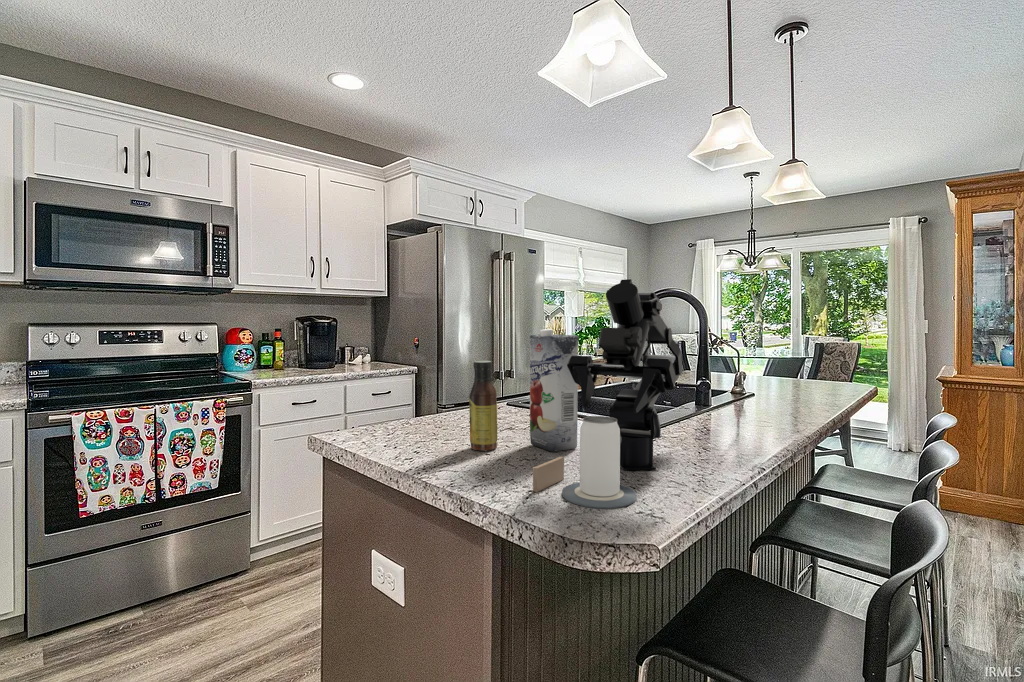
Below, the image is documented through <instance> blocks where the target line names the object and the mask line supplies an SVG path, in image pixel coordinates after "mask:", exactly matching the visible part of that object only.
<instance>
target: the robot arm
mask: <svg viewBox="0 0 1024 682" xmlns="http://www.w3.org/2000/svg"><path fill="white" fill-rule="evenodd" d="M632 280H633V279H632V278H631V279H629V278H628V279H626V278H625V279H620V282H619V283H616V284H614V285H613V286H611V287H610V288H609V289H607V290H606V292H605V298H606V302H607V305H608V308H609V310H610V315H611V317H612V320H613V323H614V324H617V327H601V329H600V332H599V337H598V339H599V340H598V347H599V348H601V349H602V350H603V351H602V355H601V356H602V358H603V360H606V362H603V363H602V362H594V361H593V357H592V356H591V355H578V356H571V357H570V359H569V361H568V364H567V366H568V369H569V371H570V373H571V375H572V378H573V380H574V382H575V383H577V384H578V386H579V387H580V393H581V394H580V395H581V406H582V409H584V410H586V409H587V408H588V406H589V404H590V401H591V399H592V396H593V393H594V391H595V389H596V386H595V383H596V382H597V379H598V376H611V377H614V378H615V377H617V378H625V379H640V380H639V381H638V383H637V384H636V387H635V388H633V389H632V388H631V389H629V388H622V389H621V390H620V391H619V392H618V394H617V395H615V400H614V401H613V402H612V404H611V405H610V407H609V412H608V414H609V416H608V417H612V418H616V419H617V424H618V426H619V428H620V469H621V470H623V471H640V470H641V471H643V470H644V471H646V470H647V471H648V470H651V471H653V470H655V471H656V469H657V466H656V465H655V464H654V439H660V438H661V435H662V434H661V423H660V418H659V415H658V413H657V412H658V411H657V409H656V407H655V403H656V402H657V399H658V398H659V396H660V394H661V393H662V394H663V393H664V394H665V393H666V391H672V390H673V389H675V386H676V381H678V379H679V377H680V376H682V374H683V373H682V372H683V359H682V350H681V347H679V346H678V344H677V342H675V340H674V339H673V330H672V327H668V325H666V323H665V321H664V319H663V318H662V317H661V311H662V309H663V304H662V303H661V301H660V298H659V297H658V295H657V294H656V293H655V292H654V291H653V292H639V290H638V287H637V286H636V285H635V284H634V283H633V281H632ZM646 343H647V346H645V345H646ZM651 345H666V346H667V348H668V349H669V351H670V352H671V353H672V355H670V354H669V355H668V354H664V355H663V354H649V353H648V350H649V349H650V347H651ZM644 348H645V349H644ZM640 362H641V363H642V365H640Z"/></svg>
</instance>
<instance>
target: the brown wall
mask: <svg viewBox="0 0 1024 682" xmlns="http://www.w3.org/2000/svg"><path fill="white" fill-rule="evenodd" d="M563 480H565V457H564V456H558V457H556V458H553V459H552V460H551V459H550V460H549V461H546V462H544V463H541V464H539V465H536V466H534V467H532V492H535V493H538V492H541V491H542V490H545V489H547V488H549V487H551V486H552V485H555V484H556V483H560V482H561V481H563Z"/></svg>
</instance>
